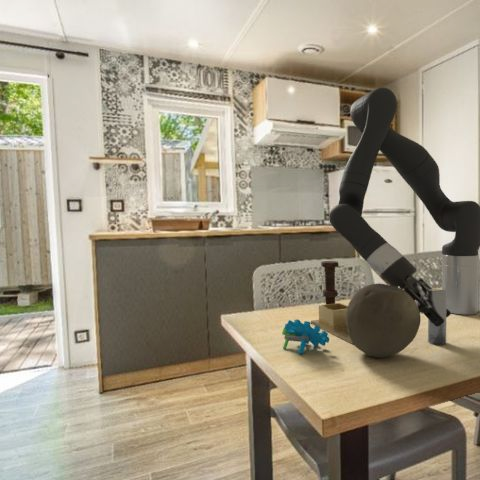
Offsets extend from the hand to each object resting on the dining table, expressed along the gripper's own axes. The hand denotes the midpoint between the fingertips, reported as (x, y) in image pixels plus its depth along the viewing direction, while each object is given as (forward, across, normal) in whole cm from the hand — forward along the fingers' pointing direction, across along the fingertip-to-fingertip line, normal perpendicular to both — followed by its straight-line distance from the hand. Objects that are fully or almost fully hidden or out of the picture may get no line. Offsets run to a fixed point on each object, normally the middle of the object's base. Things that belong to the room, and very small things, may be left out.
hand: (444, 320), depth 78 cm
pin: (+3, 0, +5) cm, 6 cm away
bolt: (-22, +18, +30) cm, 41 cm away
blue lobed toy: (-13, -21, +21) cm, 32 cm away
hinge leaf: (-11, -2, +19) cm, 22 cm away
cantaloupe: (-2, -15, +10) cm, 18 cm away
